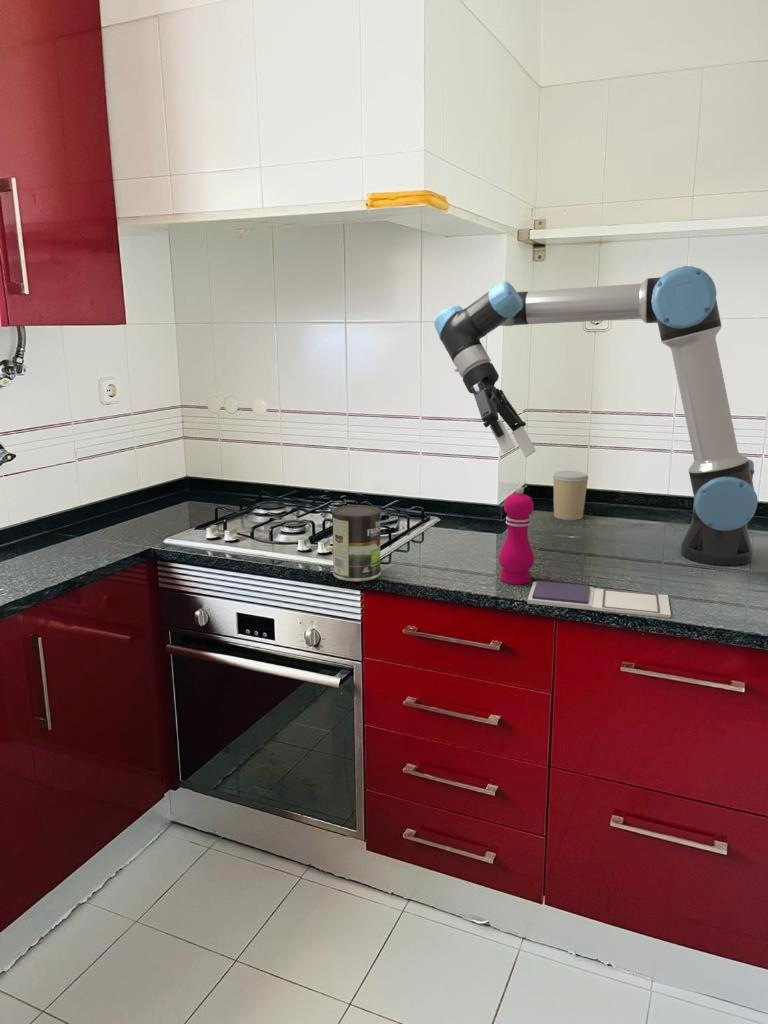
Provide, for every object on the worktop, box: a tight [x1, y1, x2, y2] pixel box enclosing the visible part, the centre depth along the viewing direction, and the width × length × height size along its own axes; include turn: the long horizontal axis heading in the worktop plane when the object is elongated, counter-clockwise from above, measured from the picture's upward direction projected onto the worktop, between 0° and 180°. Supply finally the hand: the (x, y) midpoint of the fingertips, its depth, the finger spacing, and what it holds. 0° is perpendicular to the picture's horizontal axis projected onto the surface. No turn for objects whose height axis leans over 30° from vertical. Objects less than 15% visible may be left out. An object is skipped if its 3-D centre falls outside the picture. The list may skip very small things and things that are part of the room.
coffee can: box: [331, 504, 382, 582], centre depth 166 cm, size 10×10×14 cm
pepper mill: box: [498, 485, 535, 585], centre depth 162 cm, size 7×7×20 cm
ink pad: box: [527, 580, 595, 611], centre depth 154 cm, size 12×11×1 cm
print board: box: [591, 587, 672, 619], centre depth 151 cm, size 14×11×1 cm
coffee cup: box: [552, 470, 589, 521], centre depth 215 cm, size 9×9×12 cm
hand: (520, 452), depth 170 cm, fingers open, 13 cm apart
